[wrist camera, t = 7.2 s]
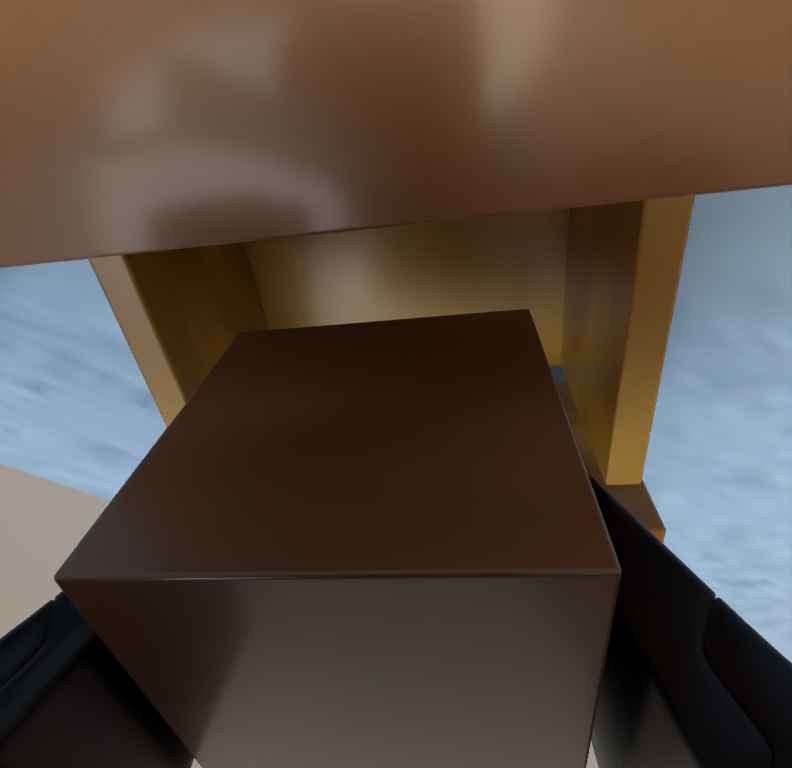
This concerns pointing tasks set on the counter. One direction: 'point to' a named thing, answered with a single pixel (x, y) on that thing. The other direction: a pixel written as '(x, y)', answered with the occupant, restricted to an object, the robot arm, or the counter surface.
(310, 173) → the cabinet
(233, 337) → the drawer
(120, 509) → the block
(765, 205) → the counter surface
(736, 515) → the counter surface
